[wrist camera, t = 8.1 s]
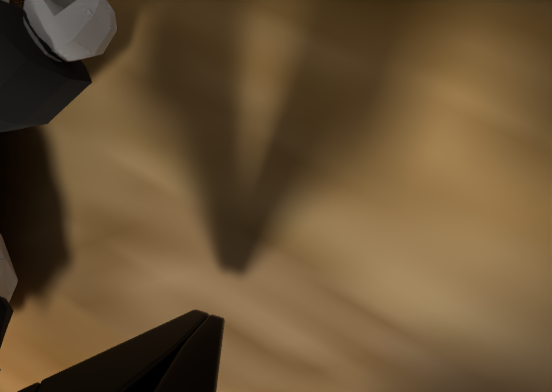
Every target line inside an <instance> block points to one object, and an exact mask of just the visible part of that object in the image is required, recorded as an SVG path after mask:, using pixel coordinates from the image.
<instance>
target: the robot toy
mask: <svg viewBox="0 0 552 392" xmlns="http://www.w3.org/2000/svg"><path fill="white" fill-rule="evenodd" d="M116 31H117V25H116V18H115V12H114V10H113V9H112V7H111V6H110V4H109V3H108V2H107V1H106V0H25V2H24V8H23V9H21V8H20V7H18V6H15V5H12V4H10V3H9V0H0V132H6V131H13V130H18V129H23V128H28V127H33V126H38V125H43V124H48V123H49V122H50V121H51V120H52V119H53V118H54V117H55V116H56V115H57V114H58V113H59V112H61V111H62V110H63V109H64V108H65V107H66V106H67V105H68V104H69V103H70V102H71V101H72V100H73V99H75V98H76V97H77V96H78V95H79V94H80V93H81V92H82V91H83V90H84V89H85V88H86V87H87V86H89V85H90V84H91V83H92V81H91V78H90V76H89V73H88V71H87V68H86V67H85V65H84V64H83V62H82V61H81V59H85V58H89V57H93V56H98V55H102V54H103V53H104V51H105V50H106V48H107V46H108V45H109V43H110V41H111V40H112V38H113V36H114V35H115V33H116ZM17 283H18V279H17V276H16V274H15V271H14V268H13V265H12V262H11V260H10V257H9V254H8V251H7V249H6V246H5V243H4V240H3V237H2V235H1V234H0V348H1V345H2V341H3V338H4V335H5V332H6V330H7V327H8V324H9V322H10V319H11V316H12V314H13V309H12V307H11V306H10V304H9V302H10V300H11V297H12V295H13V292H14V290H15V287H16V285H17ZM0 371H1V369H0Z"/></svg>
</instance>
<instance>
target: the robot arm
mask: <svg viewBox="0 0 552 392" xmlns="http://www.w3.org/2000/svg"><path fill="white" fill-rule="evenodd" d="M224 322H225V320H224V318H222V317H219V316H216V315H209V314H208V313H206V312H203V311H199V310H192V311H190V312H188V313H186V314H184V315H181V316H179V317H177V318H175V319H173V320H171V321H169V322H166V323H164V324H162V325H160V326H158V327H156V328H153V329H151V330H149V331H147V332H145V333H143V334H141V335H138V336H136V337H134V338H132V339H130V340H128V341H125V342H123V343H121V344H119V345H117V346H115V347H113V348H110V349H108V350H106V351H104V352H102V353H100V354H97V355H95V356H93V357H91V358H89V359H87V360H85V361H82V362H80V363H78V364H76V365H74V366H72V367H69V368H67V369H65V370H63V371H61V372H59V373H57V374H54V375H52V376H50V377H48V378H46V379H44V380H42V382H41V383H38V382H37V383H35V384H33V385H30V386H28V387H26V388H24V389H22V390H20V391H17V392H216V389H217V381H218V372H219V364H220V355H221V347H222V339H223V330H224Z"/></svg>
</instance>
